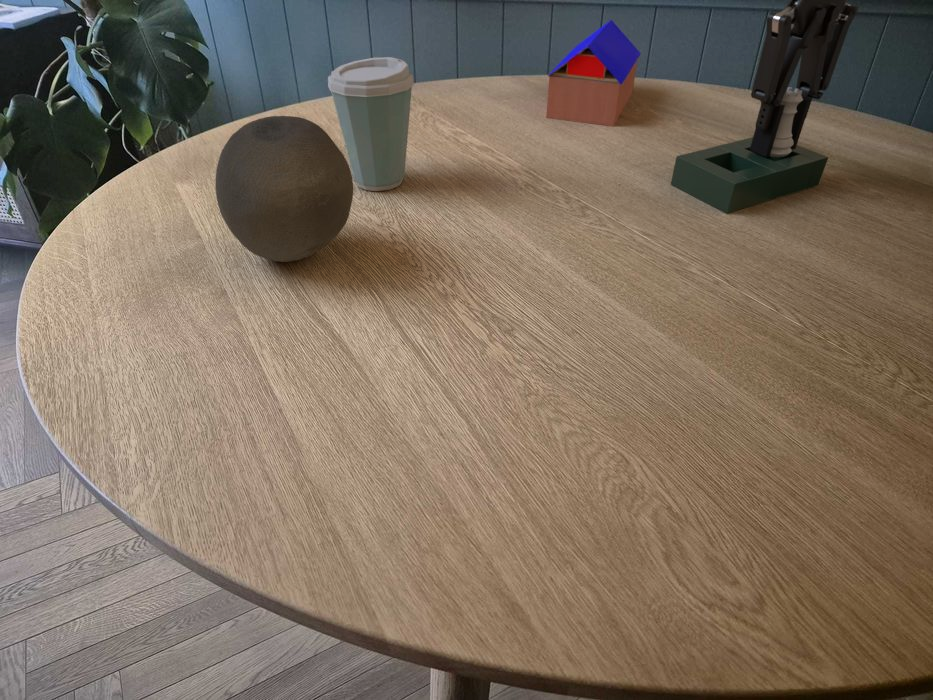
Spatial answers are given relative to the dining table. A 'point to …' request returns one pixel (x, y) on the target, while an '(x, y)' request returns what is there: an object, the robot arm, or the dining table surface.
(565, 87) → the house
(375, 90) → the disposable coffee cup
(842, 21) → the robot arm
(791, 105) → the rook chess piece
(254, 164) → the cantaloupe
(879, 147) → the dining table surface
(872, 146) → the dining table surface
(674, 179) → the peg block
